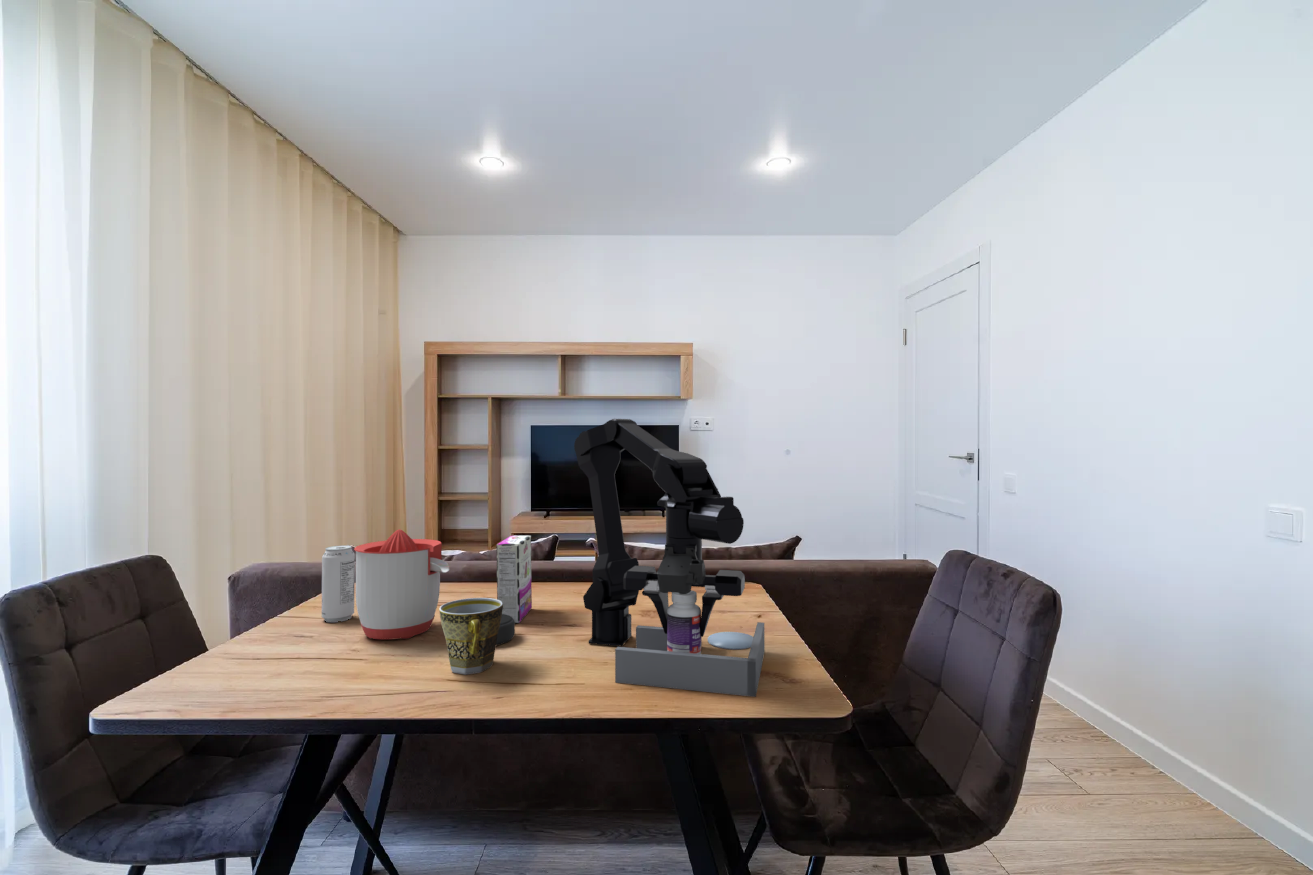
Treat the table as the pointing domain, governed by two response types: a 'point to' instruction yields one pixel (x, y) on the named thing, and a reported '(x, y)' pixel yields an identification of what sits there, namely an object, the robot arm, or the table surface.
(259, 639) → the table surface
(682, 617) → the pill bottle
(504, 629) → the smart speaker
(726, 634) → the pad
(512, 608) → the candy bar box
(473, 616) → the ceramic cup
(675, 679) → the channel
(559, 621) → the table surface
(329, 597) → the energy drink can
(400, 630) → the citrus juicer
